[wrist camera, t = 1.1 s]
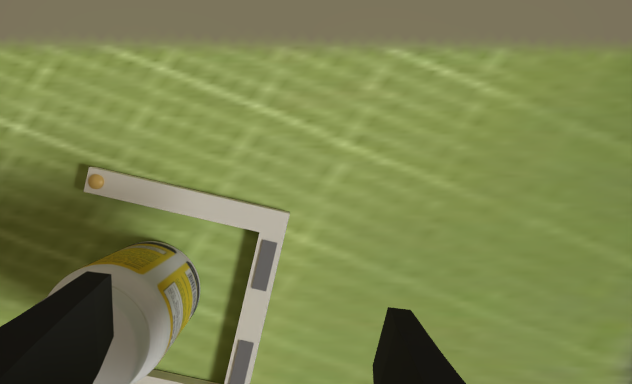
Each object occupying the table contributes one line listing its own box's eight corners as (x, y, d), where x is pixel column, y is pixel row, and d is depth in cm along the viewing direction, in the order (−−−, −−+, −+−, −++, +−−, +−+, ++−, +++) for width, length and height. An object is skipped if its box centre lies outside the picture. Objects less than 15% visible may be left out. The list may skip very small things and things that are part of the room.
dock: (242, 412, 24) (240, 422, 23) (51, 371, 24) (41, 379, 23) (289, 212, 24) (289, 213, 23) (96, 166, 23) (87, 166, 22)
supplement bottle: (85, 287, 24) (-35, 350, 15) (153, 220, 24) (71, 247, 15) (154, 354, 24) (75, 453, 15) (222, 288, 24) (179, 352, 15)
